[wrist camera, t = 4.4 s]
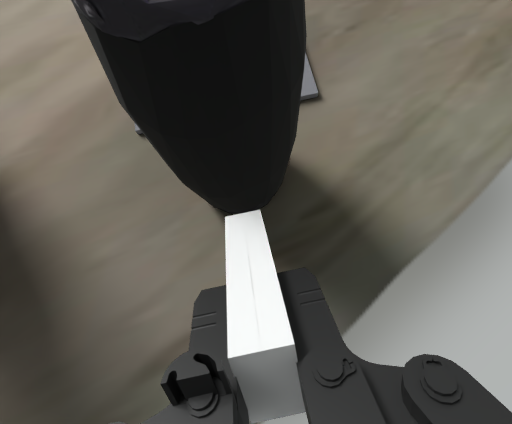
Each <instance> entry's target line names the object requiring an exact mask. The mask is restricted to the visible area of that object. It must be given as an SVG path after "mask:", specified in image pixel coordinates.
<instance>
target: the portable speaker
mask: <svg viewBox="0 0 512 424" xmlns="http://www.w3.org/2000/svg"><path fill="white" fill-rule="evenodd" d="M71 1H72V2H73V5H74V7H75V9H76V11H77V13H78V15H79V17H80V19H81V22H82V24H83V26H84V28H85V30H86V32H87V34H88V37H89V39H90V41H91V43H92V45H93V47H94V49H95V52H96V54H97V56H98V58H99V60H100V62H101V64H102V66H103V69H104V71H105V73H106V75H107V77H108V79H109V81H110V84H111V86H112V88H113V90H114V92H115V94H116V96H117V98H118V101H119V103H120V104H121V105H122V107H123V108H124V109H125V111H126V112H127V113H128V114H129V116H130V117H131V118H132V120H133V121H134V122H135V124H136V125H137V126H138V127H139V129H140V130H141V131H142V133H143V134H144V135H145V136H146V138H147V139H148V140H149V142H150V143H151V144H152V145H153V147H154V148H155V149H156V151H157V152H158V153H159V155H160V156H161V157H162V158H163V160H164V161H165V162H166V163H167V165H168V166H169V167H170V168H171V169H172V171H173V172H174V173H175V174H176V176H177V177H178V178H179V179H180V180H181V181H182V182H183V183H184V184H185V185H186V186H187V187H188V188H190V189H191V190H192V191H194V192H195V193H196V194H198V195H199V196H200V197H202V198H203V199H204V200H206V201H207V202H208V203H210V204H211V205H212V206H213V207H215V208H218V209H221V210H223V211H226V212H228V213H231V214H241V213H246V212H250V211H255V210H258V209H260V208H261V207H263V206H265V205H267V204H268V202H269V201H270V199H271V198H272V197H273V196H274V195H275V193H276V192H277V190H278V189H279V187H280V185H281V184H282V181H283V178H284V175H285V171H286V168H287V165H288V161H289V158H290V155H291V151H292V148H293V144H294V141H295V138H296V131H297V123H298V115H299V107H300V99H301V90H302V82H303V74H304V65H305V49H306V19H305V1H304V0H71ZM290 159H291V158H290ZM288 166H289V165H288Z"/></svg>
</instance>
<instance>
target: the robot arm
mask: <svg viewBox="0 0 512 424" xmlns="http://www.w3.org/2000/svg"><path fill="white" fill-rule="evenodd" d="M225 239H226V285H224V286H219V287H215V288H210V289H205V290H202V291H201V292H200V294H199V296H198V297H197V299H196V301H195V303H194V310H193V319H192V327H191V328H192V331H191V336H190V344H189V351H188V352H186V353H183V354H182V355H181V356H179V357H178V358H177V359H175V360H174V361H173V362H172V363H171V364H170V366H169V367H168V368H167V370H166V371H165V373H164V376H163V378H162V381H161V386H162V388H163V389H164V391H165V393H166V395H167V397H168V398H169V400H170V402H171V404H170V405H169V406H168V407H167V408H165V409H164V410H162V411H161V412H159V413H158V414H156V415H154V416H153V417H151V418H149V419H147V420H146V421H144V422H142V423H140V424H249V419H250V422H251V424H253V423H257V422H262V421H266V420H271V419H276V418H280V417H285V416H290V415H294V414H298V413H303V412H306V414H307V418H308V422H309V424H512V413H511V412H510V411H509V410H508V409H507V408H506V407H505V406H504V405H503V404H502V403H501V402H499V401H498V400H497V399H496V398H495V397H494V396H493V395H492V394H491V393H490V392H489V391H487V390H486V389H485V388H484V387H483V386H482V385H481V384H480V383H479V382H478V381H476V380H475V379H474V378H473V377H472V376H471V375H470V374H469V373H468V372H467V371H466V370H464V369H463V368H461V367H460V366H458V365H457V364H456V363H454V362H453V361H451V360H448V359H446V358H443V357H440V356H438V355H428V354H427V355H426V354H423V355H419V356H416V357H413V358H412V359H411V360H409V361H408V362H407V363H406V364H405V367H397V366H388V365H379V364H374V363H370V362H367V361H365V360H363V359H361V358H359V357H358V356H356V355H355V354H353V353H352V352H351V351H350V350H349V349H348V348H347V346H346V345H345V343H344V341H343V340H342V337H341V335H340V333H339V330H338V328H337V326H336V323H335V321H334V319H333V316H332V314H331V312H330V309H329V307H328V305H327V303H326V301H325V298H324V296H323V293H322V291H321V289H320V286H319V284H318V282H317V279H316V277H315V276H314V275H313V274H312V273H311V272H310V271H308V270H307V269H306V268H305V267H304V268H299V269H295V270H290V271H285V272H281V273H276V269H275V265H274V262H273V258H272V254H271V250H270V246H269V242H268V238H267V234H266V230H265V226H264V223H263V219H262V215H261V211H260V210H255V211H250V212H246V213H241V214H236V215H232V216H227V217H225ZM109 424H126V423H123V422H114V423H109Z"/></svg>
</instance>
